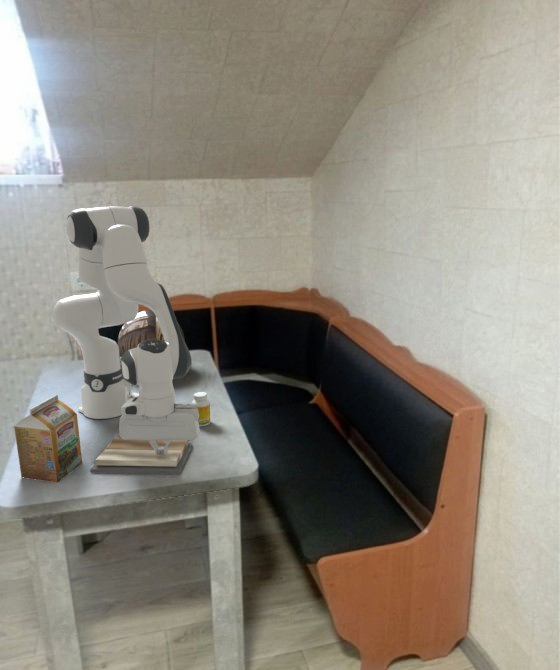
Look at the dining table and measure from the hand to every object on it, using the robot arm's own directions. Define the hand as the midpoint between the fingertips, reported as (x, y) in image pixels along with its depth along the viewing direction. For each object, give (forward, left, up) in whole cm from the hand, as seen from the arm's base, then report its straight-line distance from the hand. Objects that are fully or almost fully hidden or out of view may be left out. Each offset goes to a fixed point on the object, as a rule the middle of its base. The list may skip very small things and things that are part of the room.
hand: (161, 454), depth 149 cm
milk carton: (+3, -28, -4) cm, 28 cm away
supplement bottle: (-28, +5, -4) cm, 29 cm away
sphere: (-75, -23, -4) cm, 79 cm away
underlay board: (-4, -6, -4) cm, 8 cm away
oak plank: (-8, -6, -3) cm, 11 cm away
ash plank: (-1, -6, -2) cm, 7 cm away
